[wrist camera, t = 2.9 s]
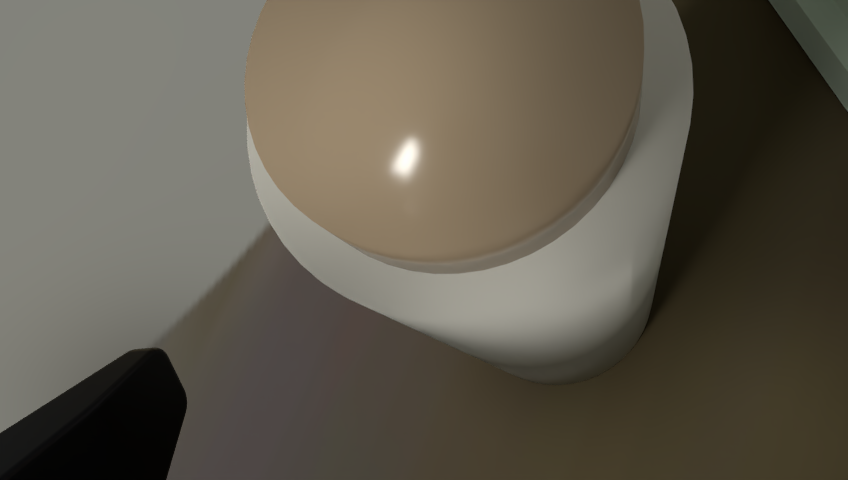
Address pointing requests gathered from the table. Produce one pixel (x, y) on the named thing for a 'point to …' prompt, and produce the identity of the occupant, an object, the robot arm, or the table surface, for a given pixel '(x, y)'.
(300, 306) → the table surface
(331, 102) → the spice jar
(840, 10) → the spice stand
